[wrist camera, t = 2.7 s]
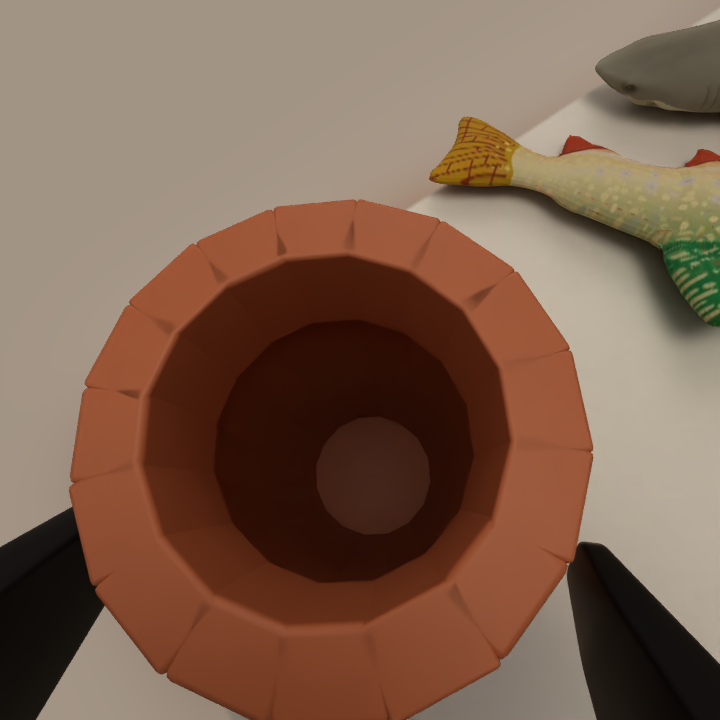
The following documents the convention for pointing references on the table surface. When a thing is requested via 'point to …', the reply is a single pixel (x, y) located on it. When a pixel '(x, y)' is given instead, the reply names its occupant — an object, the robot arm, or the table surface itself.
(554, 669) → the table surface
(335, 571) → the pipe
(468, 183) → the decorative fish
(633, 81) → the shark figurine
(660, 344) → the table surface
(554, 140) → the table surface
